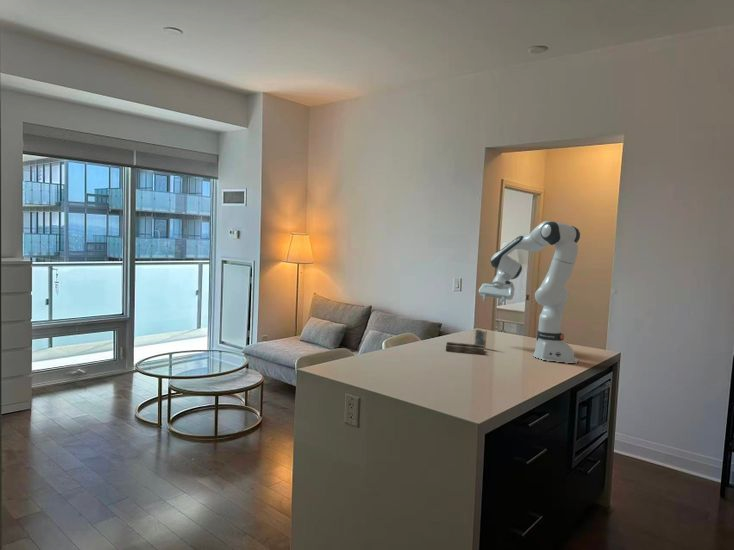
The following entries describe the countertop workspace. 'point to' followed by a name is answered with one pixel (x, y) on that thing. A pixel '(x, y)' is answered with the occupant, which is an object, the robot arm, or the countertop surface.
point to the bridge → (465, 348)
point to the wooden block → (480, 337)
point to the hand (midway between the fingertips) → (491, 302)
